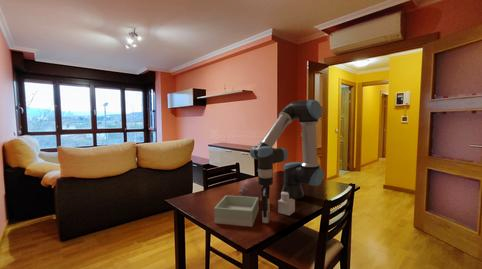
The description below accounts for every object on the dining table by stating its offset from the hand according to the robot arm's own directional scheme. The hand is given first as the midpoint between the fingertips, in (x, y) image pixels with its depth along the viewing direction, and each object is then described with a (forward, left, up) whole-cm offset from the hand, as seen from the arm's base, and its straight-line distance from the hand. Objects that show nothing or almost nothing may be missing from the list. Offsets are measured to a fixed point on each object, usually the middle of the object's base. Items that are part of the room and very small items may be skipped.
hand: (266, 220), depth 118 cm
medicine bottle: (-10, -14, -1) cm, 17 cm away
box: (+16, -3, -1) cm, 16 cm away
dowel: (0, 0, -1) cm, 1 cm away
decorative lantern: (+14, -23, -1) cm, 27 cm away
